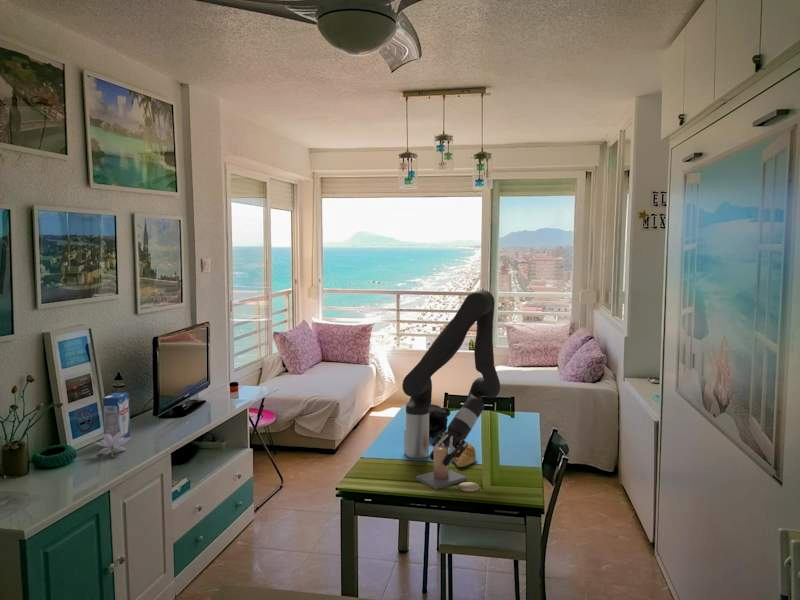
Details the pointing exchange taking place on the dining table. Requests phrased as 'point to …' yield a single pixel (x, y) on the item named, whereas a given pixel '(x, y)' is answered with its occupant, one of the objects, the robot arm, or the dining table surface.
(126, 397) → the milk carton
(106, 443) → the water lily
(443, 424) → the puffin
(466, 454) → the croissant
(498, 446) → the dining table surface
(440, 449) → the pinkish tan rounded cylinder
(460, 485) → the cork coaster
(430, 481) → the slate board
